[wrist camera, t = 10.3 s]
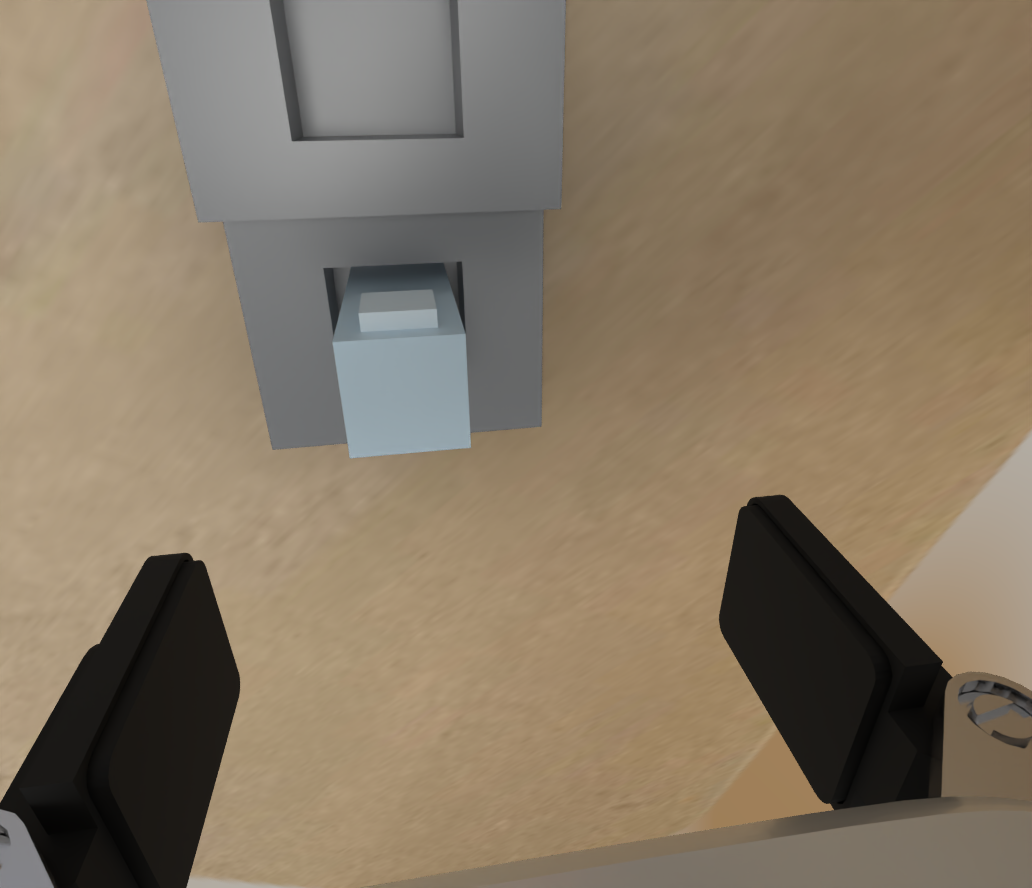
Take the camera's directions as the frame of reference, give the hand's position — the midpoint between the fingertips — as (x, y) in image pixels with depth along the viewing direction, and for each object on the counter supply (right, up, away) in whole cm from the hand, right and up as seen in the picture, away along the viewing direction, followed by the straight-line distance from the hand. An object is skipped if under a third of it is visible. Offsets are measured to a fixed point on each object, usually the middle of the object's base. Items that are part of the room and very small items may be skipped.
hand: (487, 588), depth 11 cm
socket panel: (-5, +13, +16) cm, 21 cm away
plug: (-5, +9, +18) cm, 20 cm away
